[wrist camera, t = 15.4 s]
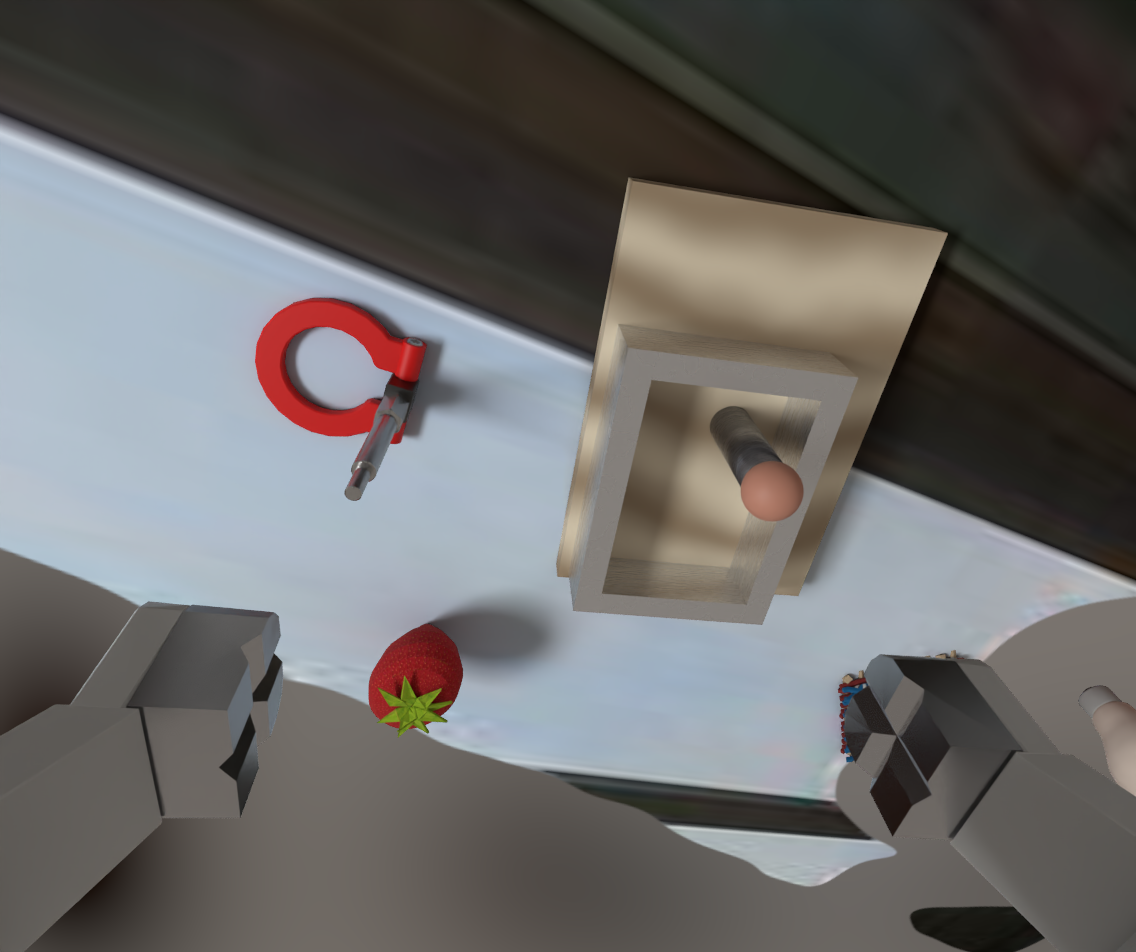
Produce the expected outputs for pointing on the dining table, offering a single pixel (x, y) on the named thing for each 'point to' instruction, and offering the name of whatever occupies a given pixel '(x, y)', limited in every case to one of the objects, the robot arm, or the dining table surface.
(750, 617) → the steel link
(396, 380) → the tow hook
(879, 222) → the board
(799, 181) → the dining table surface
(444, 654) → the strawberry
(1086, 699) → the light bulb
